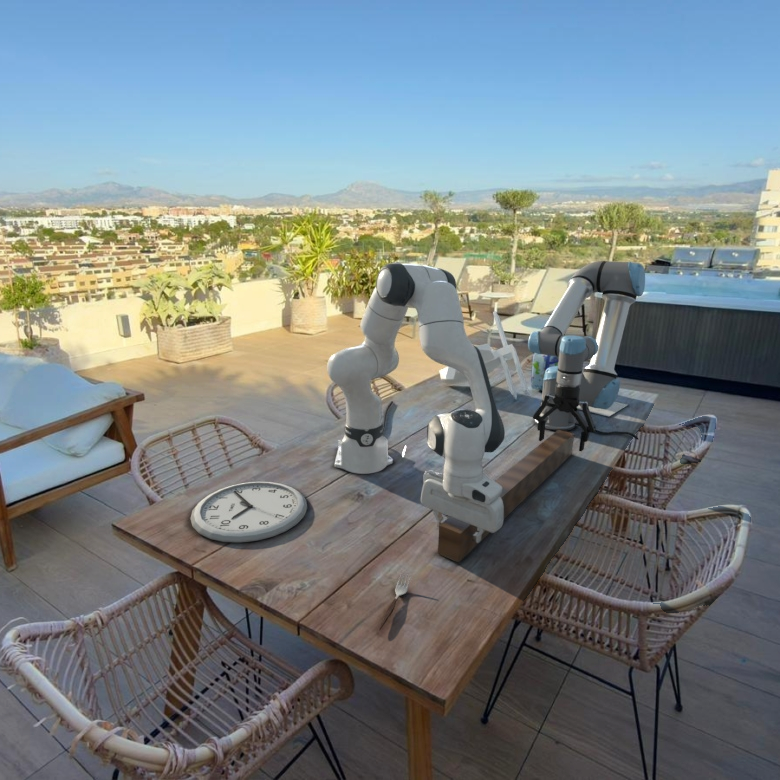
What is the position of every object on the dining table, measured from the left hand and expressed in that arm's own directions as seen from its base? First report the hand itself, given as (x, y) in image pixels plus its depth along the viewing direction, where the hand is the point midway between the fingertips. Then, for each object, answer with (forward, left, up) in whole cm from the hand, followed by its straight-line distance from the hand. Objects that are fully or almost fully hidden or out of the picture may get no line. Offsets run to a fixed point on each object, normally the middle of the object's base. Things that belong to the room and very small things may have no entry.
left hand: (458, 533), depth 123 cm
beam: (-23, +25, -4) cm, 34 cm away
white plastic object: (-117, +49, -4) cm, 127 cm away
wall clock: (-26, -49, -4) cm, 56 cm away
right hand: (-45, +51, 0) cm, 68 cm away
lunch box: (-119, +86, -4) cm, 147 cm away
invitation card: (-90, +95, -4) cm, 131 cm away
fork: (+16, -19, -4) cm, 25 cm away
